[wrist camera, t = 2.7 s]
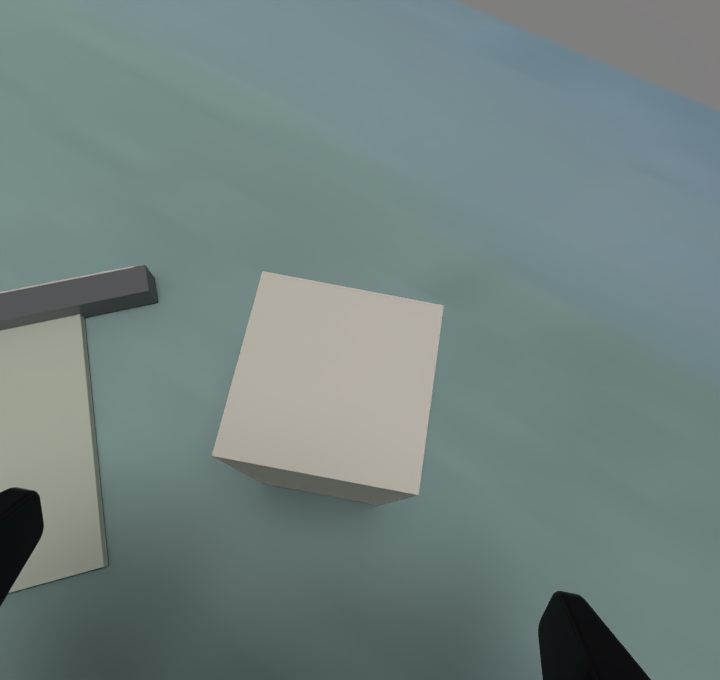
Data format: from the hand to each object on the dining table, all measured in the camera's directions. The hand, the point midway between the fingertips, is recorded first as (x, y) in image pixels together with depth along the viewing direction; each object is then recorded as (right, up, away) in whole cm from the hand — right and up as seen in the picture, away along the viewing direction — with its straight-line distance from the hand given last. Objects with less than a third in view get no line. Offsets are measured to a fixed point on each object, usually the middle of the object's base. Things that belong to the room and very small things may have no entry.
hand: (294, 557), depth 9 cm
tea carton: (0, 0, +12) cm, 12 cm away
